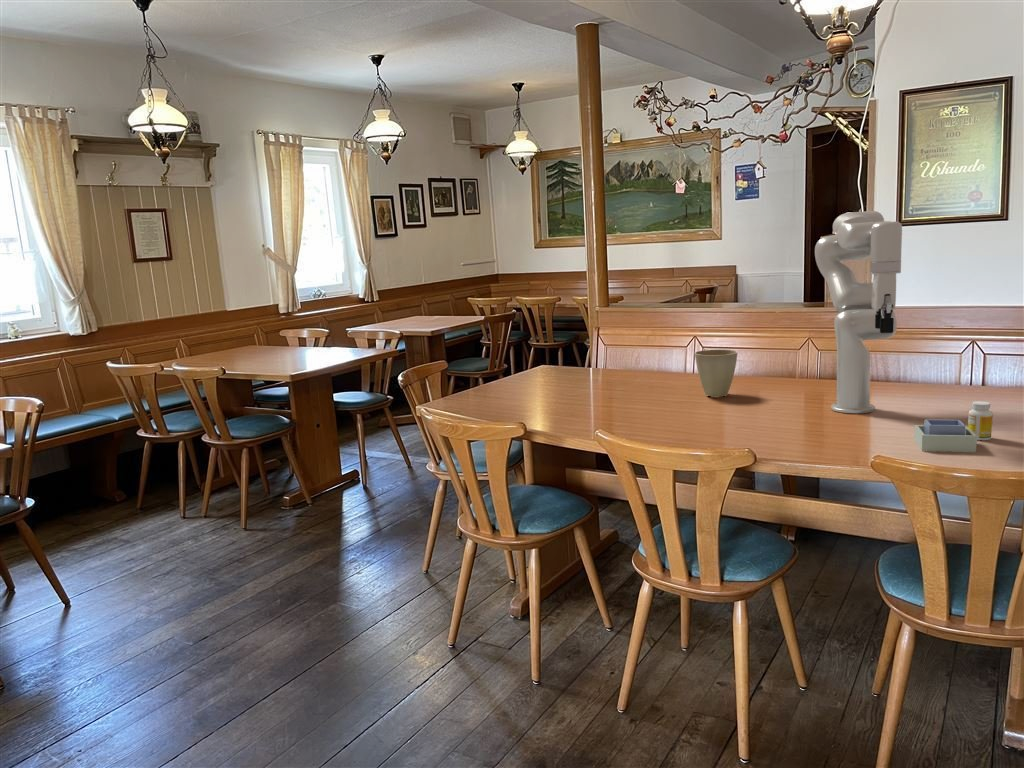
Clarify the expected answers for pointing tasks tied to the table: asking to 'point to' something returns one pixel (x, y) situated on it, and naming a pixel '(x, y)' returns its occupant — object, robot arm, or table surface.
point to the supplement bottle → (980, 420)
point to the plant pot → (716, 370)
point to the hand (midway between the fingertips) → (883, 330)
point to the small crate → (944, 427)
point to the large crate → (945, 441)
